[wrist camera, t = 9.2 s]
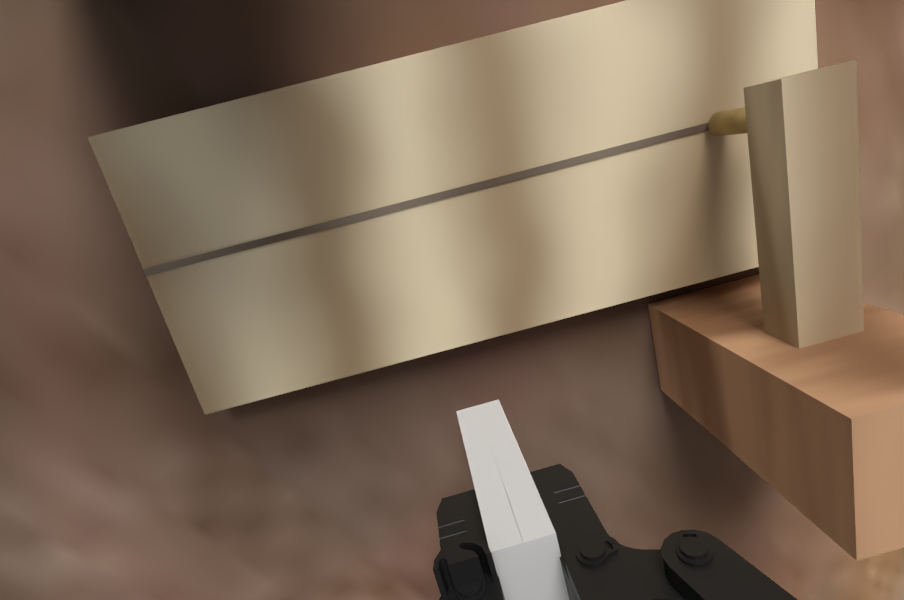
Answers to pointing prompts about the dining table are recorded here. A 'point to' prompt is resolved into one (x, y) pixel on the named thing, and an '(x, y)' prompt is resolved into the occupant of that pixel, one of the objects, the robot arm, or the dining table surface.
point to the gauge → (799, 324)
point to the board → (451, 191)
